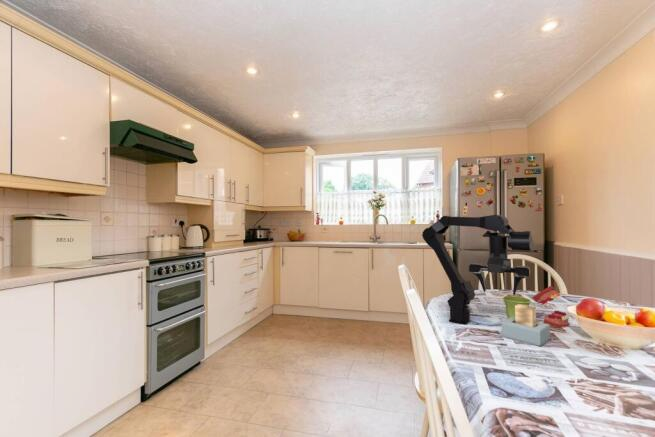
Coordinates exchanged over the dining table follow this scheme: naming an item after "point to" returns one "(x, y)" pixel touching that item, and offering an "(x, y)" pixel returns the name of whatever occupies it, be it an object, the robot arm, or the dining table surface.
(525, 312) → the upright wooden block
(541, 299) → the anatomical model
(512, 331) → the block
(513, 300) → the plant pot
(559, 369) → the dining table surface
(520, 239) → the robot arm
